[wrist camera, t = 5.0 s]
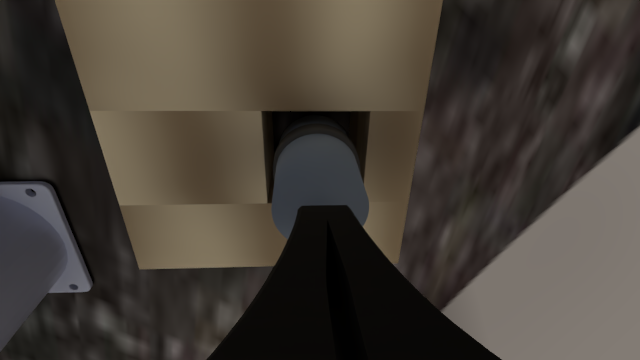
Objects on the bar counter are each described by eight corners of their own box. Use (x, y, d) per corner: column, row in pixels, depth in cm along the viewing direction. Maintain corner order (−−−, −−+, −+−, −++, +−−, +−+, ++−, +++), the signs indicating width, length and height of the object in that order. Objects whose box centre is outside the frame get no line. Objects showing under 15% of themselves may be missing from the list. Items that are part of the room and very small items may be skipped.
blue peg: (277, 183, 15) (270, 252, 11) (273, 112, 14) (264, 164, 10) (350, 182, 16) (368, 250, 12) (355, 112, 14) (378, 163, 10)
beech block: (173, 207, 20) (139, 269, 16) (49, -345, 11) (-126, -574, 6) (377, 204, 21) (398, 263, 17) (439, -317, 11) (529, -505, 7)
